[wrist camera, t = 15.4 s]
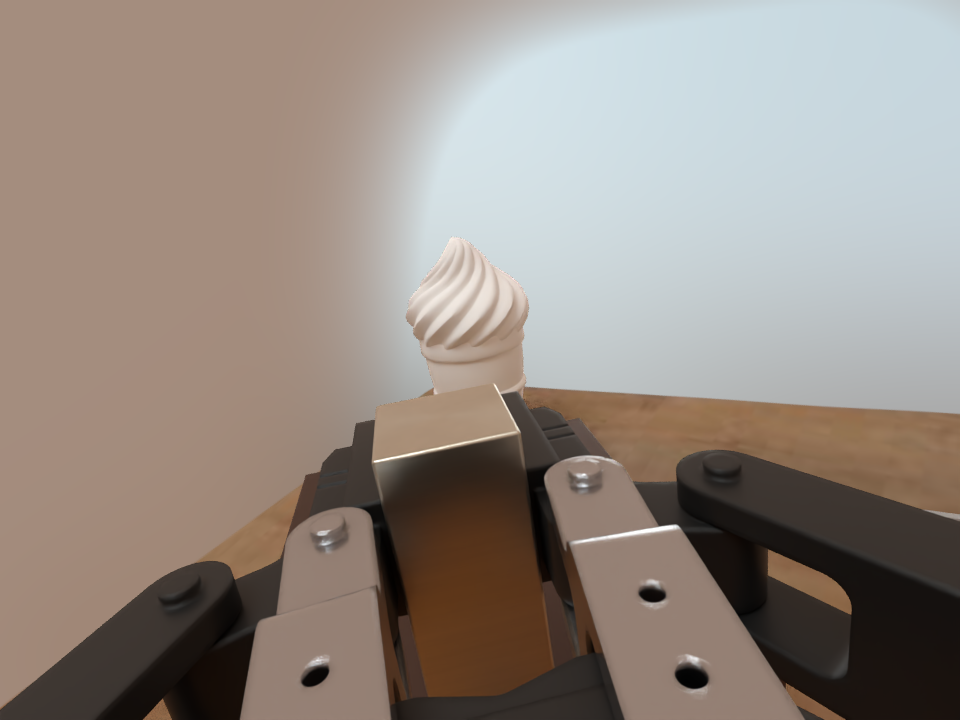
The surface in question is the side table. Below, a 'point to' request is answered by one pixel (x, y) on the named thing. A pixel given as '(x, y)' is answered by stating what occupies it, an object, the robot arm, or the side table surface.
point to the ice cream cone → (470, 322)
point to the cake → (417, 683)
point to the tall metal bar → (463, 540)
